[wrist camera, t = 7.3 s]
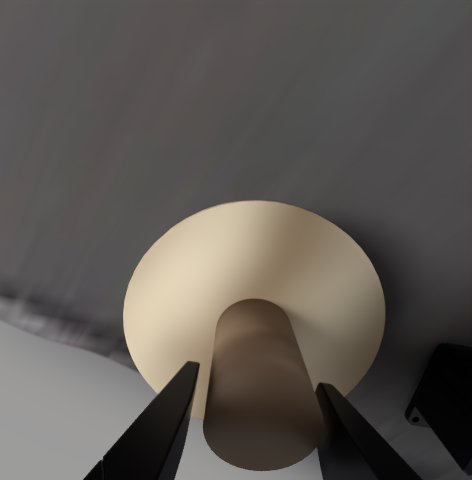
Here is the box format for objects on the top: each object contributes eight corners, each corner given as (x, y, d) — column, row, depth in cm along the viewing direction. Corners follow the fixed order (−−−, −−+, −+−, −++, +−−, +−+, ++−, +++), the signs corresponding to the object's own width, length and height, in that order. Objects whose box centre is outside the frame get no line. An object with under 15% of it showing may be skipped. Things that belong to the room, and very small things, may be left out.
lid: (410, 222, 10) (566, 268, 5) (337, 425, 13) (394, 569, 8) (136, 178, 9) (38, 186, 5) (127, 399, 12) (61, 534, 8)
